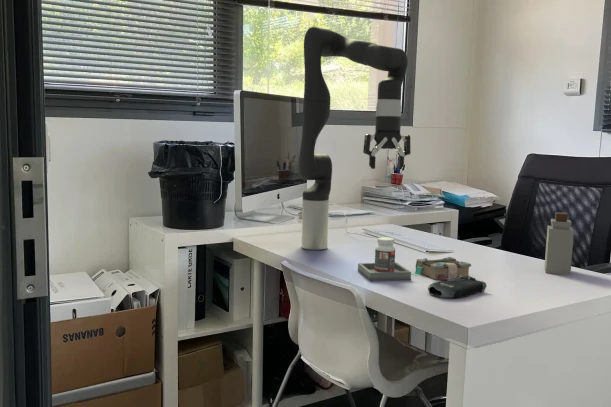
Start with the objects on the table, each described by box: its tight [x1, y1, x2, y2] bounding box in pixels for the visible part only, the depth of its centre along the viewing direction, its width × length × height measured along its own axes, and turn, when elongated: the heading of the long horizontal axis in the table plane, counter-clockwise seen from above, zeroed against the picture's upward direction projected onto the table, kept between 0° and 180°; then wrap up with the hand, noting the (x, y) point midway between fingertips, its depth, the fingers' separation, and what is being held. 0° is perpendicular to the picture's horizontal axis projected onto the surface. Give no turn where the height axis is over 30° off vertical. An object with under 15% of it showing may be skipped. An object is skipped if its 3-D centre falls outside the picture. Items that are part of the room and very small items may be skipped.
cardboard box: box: [411, 256, 472, 281], centre depth 167 cm, size 20×12×5 cm, turn 112°
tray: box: [357, 261, 412, 282], centre depth 166 cm, size 12×12×2 cm
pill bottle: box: [374, 236, 396, 272], centre depth 165 cm, size 6×6×10 cm
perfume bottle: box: [544, 211, 575, 276], centre depth 174 cm, size 7×7×18 cm
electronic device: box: [427, 276, 488, 300], centre depth 149 cm, size 9×6×15 cm
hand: (386, 168), depth 175 cm, fingers open, 8 cm apart
